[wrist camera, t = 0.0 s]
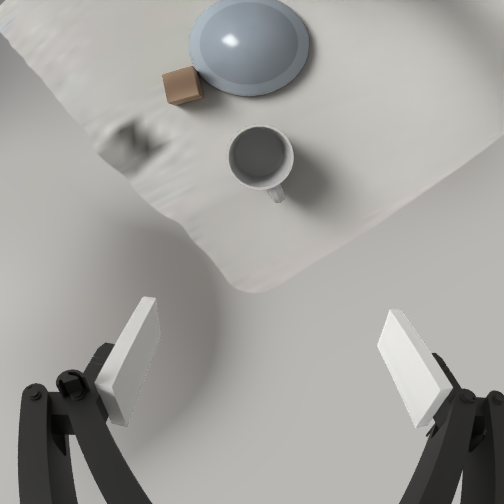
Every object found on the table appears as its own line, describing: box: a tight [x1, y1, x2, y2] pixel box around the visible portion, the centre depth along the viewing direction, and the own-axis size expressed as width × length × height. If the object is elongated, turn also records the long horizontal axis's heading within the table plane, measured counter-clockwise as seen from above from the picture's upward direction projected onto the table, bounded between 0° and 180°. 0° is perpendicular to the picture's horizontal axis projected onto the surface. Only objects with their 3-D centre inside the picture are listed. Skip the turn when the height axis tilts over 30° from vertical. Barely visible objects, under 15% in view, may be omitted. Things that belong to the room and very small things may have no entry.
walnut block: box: [162, 66, 203, 105], centre depth 34 cm, size 4×4×4 cm
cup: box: [226, 124, 294, 203], centre depth 35 cm, size 7×10×9 cm
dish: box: [189, 0, 309, 96], centre depth 32 cm, size 16×16×1 cm
